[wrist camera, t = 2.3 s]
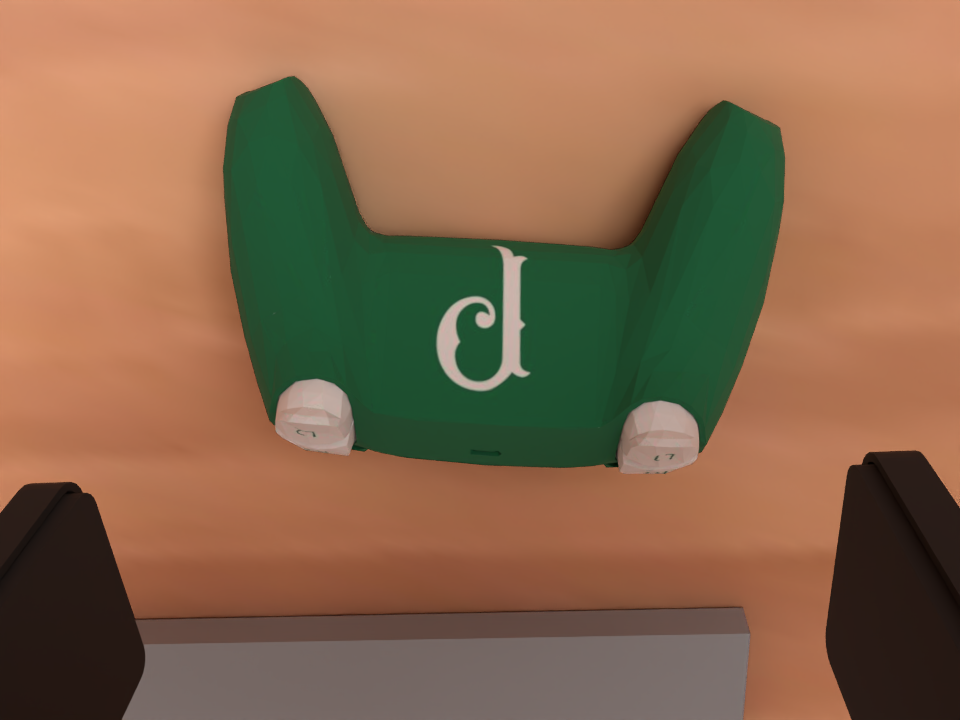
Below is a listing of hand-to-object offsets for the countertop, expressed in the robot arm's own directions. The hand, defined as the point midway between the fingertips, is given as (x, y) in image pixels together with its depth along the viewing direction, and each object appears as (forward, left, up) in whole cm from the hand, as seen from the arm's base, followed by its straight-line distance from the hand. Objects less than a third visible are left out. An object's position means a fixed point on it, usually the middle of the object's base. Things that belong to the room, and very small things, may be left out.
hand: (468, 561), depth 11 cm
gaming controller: (0, -2, -7) cm, 8 cm away
